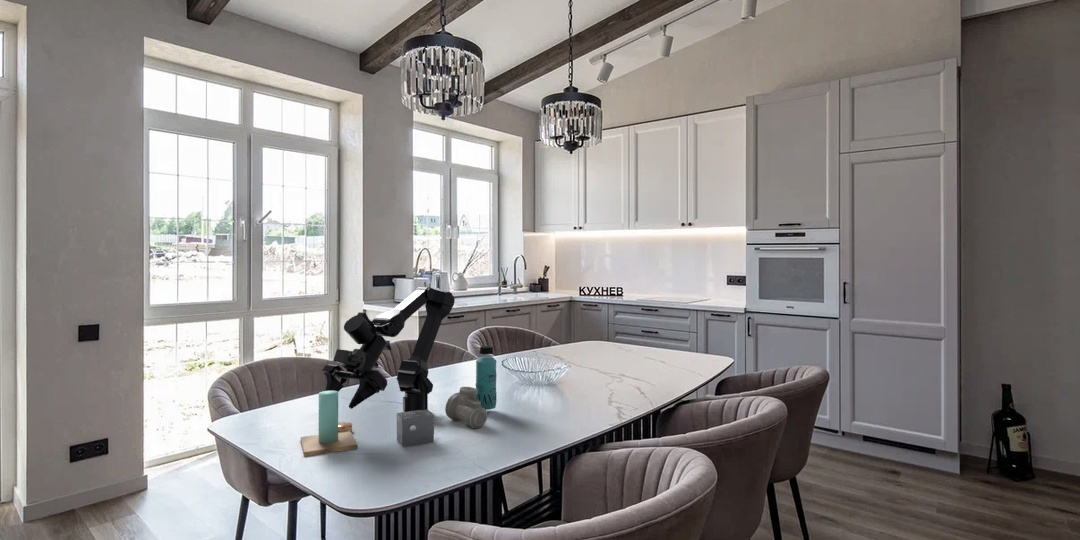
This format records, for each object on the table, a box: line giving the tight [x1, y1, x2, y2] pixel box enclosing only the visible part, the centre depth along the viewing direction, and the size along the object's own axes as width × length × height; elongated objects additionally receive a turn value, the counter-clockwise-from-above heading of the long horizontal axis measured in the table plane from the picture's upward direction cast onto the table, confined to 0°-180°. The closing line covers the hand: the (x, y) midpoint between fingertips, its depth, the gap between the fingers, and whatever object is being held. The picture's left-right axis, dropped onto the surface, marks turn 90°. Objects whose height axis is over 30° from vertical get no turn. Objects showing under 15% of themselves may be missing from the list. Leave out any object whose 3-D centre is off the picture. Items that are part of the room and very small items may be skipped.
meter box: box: [396, 409, 435, 448], centre depth 141 cm, size 8×7×7 cm
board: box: [300, 431, 358, 457], centre depth 139 cm, size 12×12×1 cm
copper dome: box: [338, 421, 353, 433], centre depth 149 cm, size 6×6×2 cm
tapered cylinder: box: [318, 391, 339, 444], centre depth 139 cm, size 5×5×12 cm
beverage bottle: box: [474, 345, 498, 411], centre depth 168 cm, size 6×7×20 cm
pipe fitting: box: [444, 386, 488, 429], centre depth 156 cm, size 12×8×10 cm
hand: (337, 405), depth 141 cm, fingers open, 9 cm apart
